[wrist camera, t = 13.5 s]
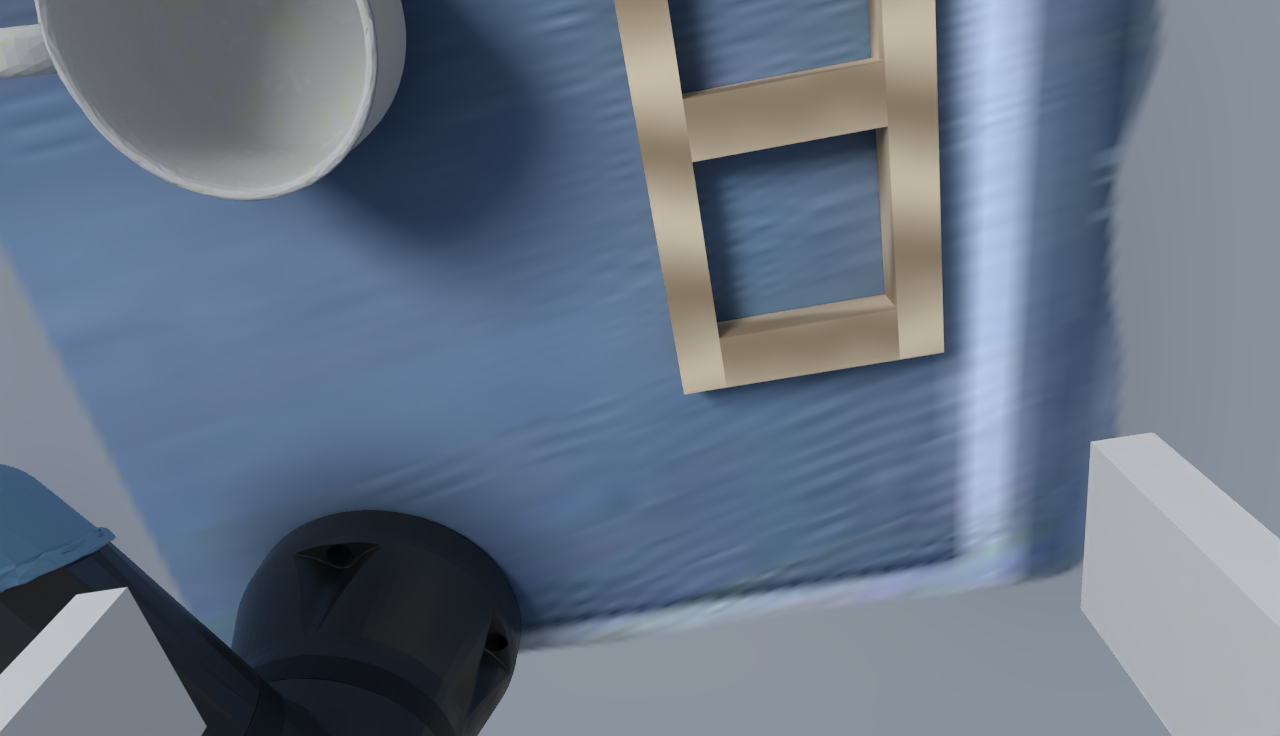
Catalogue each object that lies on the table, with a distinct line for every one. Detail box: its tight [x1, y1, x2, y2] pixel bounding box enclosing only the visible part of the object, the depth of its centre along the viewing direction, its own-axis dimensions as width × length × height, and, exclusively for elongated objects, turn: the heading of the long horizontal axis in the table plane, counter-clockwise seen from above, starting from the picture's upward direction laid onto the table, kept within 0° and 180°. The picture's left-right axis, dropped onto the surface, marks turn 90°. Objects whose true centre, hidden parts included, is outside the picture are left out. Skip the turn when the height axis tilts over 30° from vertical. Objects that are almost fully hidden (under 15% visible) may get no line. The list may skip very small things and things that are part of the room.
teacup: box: [0, 0, 406, 201], centre depth 29 cm, size 14×11×8 cm
